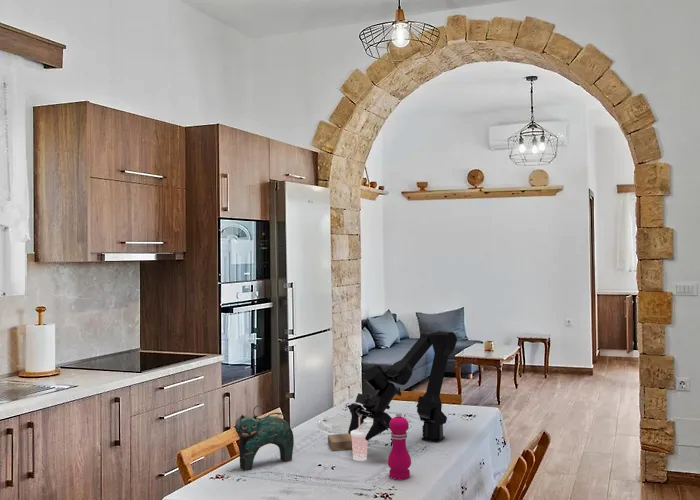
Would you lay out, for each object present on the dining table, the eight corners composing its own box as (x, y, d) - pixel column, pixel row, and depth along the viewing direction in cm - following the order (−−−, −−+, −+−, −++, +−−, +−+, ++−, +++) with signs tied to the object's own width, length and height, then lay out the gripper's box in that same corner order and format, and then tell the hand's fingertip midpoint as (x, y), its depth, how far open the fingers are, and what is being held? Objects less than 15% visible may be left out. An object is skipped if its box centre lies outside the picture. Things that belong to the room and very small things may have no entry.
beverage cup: (367, 462, 238) (366, 419, 237) (349, 461, 239) (348, 419, 238) (370, 456, 244) (370, 414, 243) (352, 455, 245) (352, 414, 244)
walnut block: (352, 441, 260) (352, 433, 260) (357, 449, 252) (357, 440, 251) (327, 443, 259) (327, 435, 259) (332, 451, 250) (332, 442, 250)
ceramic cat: (240, 473, 229) (239, 410, 229) (232, 467, 235) (231, 406, 234) (296, 461, 240) (295, 401, 239) (287, 456, 245) (286, 397, 245)
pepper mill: (413, 473, 226) (412, 409, 226) (408, 481, 219) (407, 415, 219) (391, 471, 229) (390, 408, 228) (385, 479, 222) (384, 414, 221)
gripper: (352, 379, 251) (326, 416, 244) (387, 388, 236) (360, 428, 229) (370, 398, 256) (345, 435, 249) (405, 409, 241) (380, 448, 234)
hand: (357, 436), depth 240 cm, fingers open, 9 cm apart
